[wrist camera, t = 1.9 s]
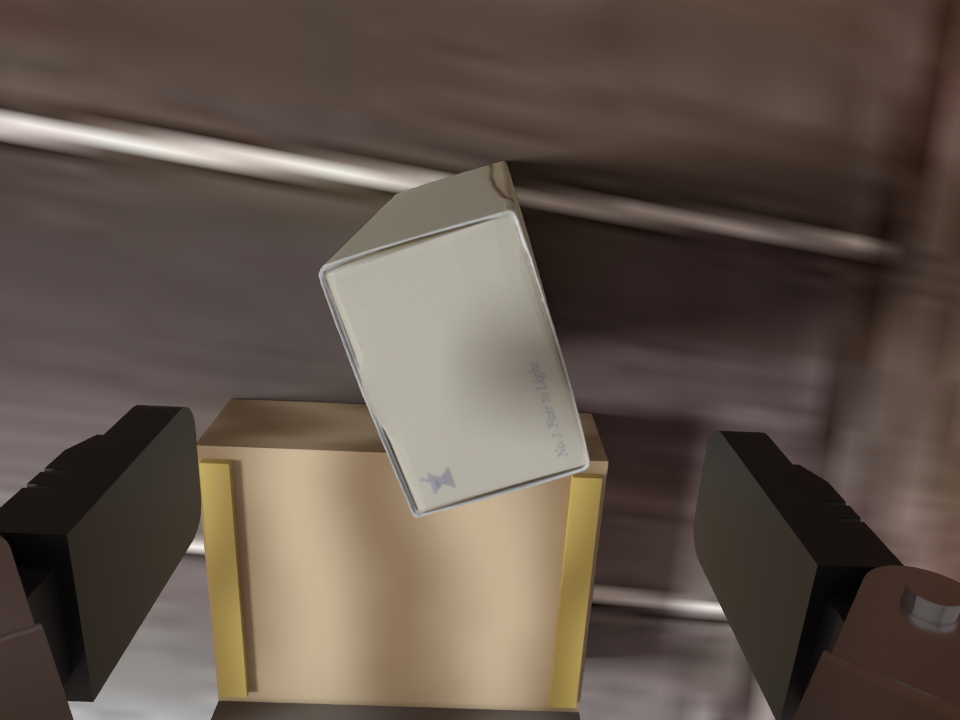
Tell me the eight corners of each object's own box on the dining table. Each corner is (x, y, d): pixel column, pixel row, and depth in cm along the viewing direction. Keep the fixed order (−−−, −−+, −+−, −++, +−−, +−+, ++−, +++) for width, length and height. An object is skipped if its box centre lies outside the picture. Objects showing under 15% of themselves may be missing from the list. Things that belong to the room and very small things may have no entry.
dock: (591, 413, 29) (619, 491, 24) (565, 659, 33) (583, 775, 28) (231, 398, 29) (172, 474, 23) (249, 648, 33) (203, 763, 27)
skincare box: (552, 318, 28) (604, 478, 16) (439, 351, 28) (413, 530, 17) (503, 151, 26) (525, 202, 14) (382, 190, 26) (310, 269, 15)
